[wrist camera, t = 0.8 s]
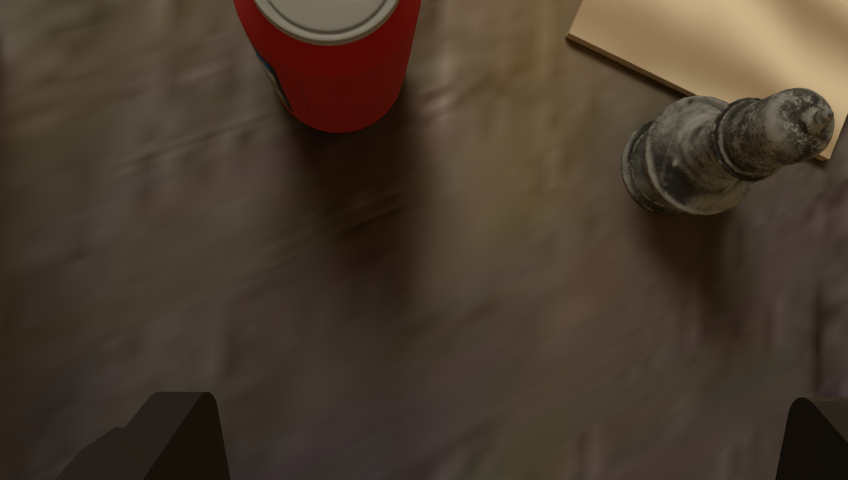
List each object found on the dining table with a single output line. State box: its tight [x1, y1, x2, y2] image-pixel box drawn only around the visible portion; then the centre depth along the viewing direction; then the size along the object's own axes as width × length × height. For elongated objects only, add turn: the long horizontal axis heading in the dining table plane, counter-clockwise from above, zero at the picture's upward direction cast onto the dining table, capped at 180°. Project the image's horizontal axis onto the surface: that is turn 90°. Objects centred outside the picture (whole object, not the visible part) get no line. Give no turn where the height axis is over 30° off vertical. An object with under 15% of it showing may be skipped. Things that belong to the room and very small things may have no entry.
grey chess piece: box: [621, 88, 835, 215], centre depth 28 cm, size 6×6×12 cm
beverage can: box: [234, 0, 421, 133], centre depth 27 cm, size 7×7×12 cm
